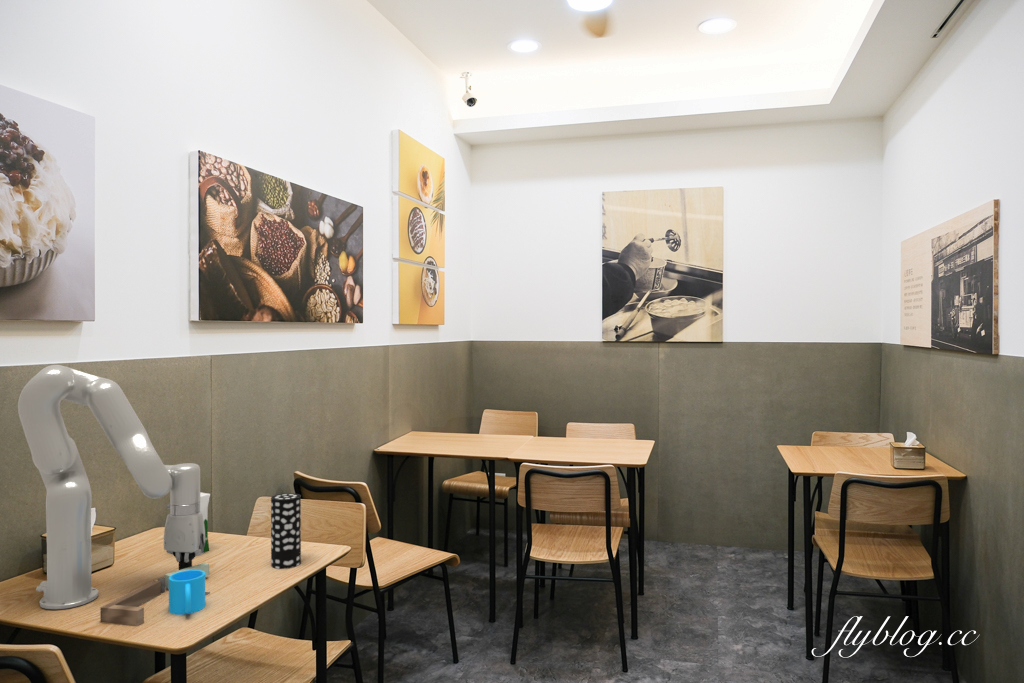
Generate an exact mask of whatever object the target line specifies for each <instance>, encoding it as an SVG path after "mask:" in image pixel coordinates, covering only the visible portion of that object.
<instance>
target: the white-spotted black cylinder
mask: <svg viewBox="0 0 1024 683" xmlns="http://www.w3.org/2000/svg"><path fill="white" fill-rule="evenodd" d="M301 497H302V495H301V494H299V493H294V492H293V493H290V492H289V493H280V494H276V495H272V496H271V497H270V521H271V522H270V539H271V540H270V550H271V551H270V555H271V556H270V557H271V558H270V562H271V564H270V566H271V567H272V569H273V568H274V569H277V570H278V569H279V570H284V569H285V570H286V569H292V568H295V567H297V566H300V564H301V561H302V559H301V558H302V557H301V556H302V552H301V551H302V548H301V547H302V545H301V544H302V543H301V542H302V541H301V540H302V536H301V535H302V527H301V526H302V519H301V517H302V515H301V514H302V511H301V509H302V507H301V506H302V502H301V501H302V500H301Z"/></svg>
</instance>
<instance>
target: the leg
mask: <svg viewBox="0 0 1024 683" xmlns="http://www.w3.org/2000/svg"><path fill="white" fill-rule="evenodd" d="M186 570H201V571H204V572H205V578H208V577H210V564H209V563H207V562H202V563H198V564H195V565H192V566H191V567H188V568H185V569H181V570H179V569H178V570H175V571H172V572H168V573H165V574H164V578H165V589H168V590H169V577H170V576H171V575H172V574H175V573H177V572H181V571H186Z"/></svg>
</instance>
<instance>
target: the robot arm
mask: <svg viewBox="0 0 1024 683" xmlns="http://www.w3.org/2000/svg"><path fill="white" fill-rule="evenodd" d="M62 401H67V402H70V403H74V404H76V405H77V404H78V405H81V406H84V407H85V406H86V407H89V409H90V411H91V413H92V415H93V416H94V418H95V419H96V421H97V423H98V424H99V426H100V427H101V429H102V430H103V432H104V435H105V436H106V438H107V440H108V441H109V443H110V444H111V446H112V447H113V449H114V451H115V452H116V453H117V454H118V455H119V457H120V458H121V460H122V461H123V464H125V465H126V467H127V469H128V471H129V473H130V474H131V476H132V478H133V479H134V480H135V482H136V484H137V485H138V487H139V489H140V491H141V492H142V494H143V495H144V496H146V497H147V498H149V499H153V500H154V499H155V500H156V499H160V498H163V497H165V496H166V495H168V494H169V499H170V500H169V501H170V502H169V503H168V504H167V505H166V509H168V510H169V513H168V514H167V516H166V520H165V524H164V529H163V530H164V532H163V533H164V534H163V549H164V550H165V551H166V553H167V554H169V555H172V556H174V558H175V560H176V562H177V563H178V570H181V569H185V568H188V567H191V566H193V560H194V559H195V557H198V556H202V555H204V554H205V552H204V549H203V547H204V546H205V526H204V519H203V515H202V513H200V493H201V467H200V465H199V464H197V463H193V462H192V463H191V462H190V463H189V462H188V463H187V462H186V463H177V464H164V463H163V460H162V458H161V456H159V454H158V452H157V451H156V449H155V447H154V445H153V444H152V441H151V439H150V436H149V434H148V432H147V430H146V428H145V427H144V425H143V424H142V421H141V420H140V418H139V417H138V415H137V413H136V411H135V410H134V407H133V406H132V405H131V403H130V401H129V400H128V397H127V396H126V395H125V393H124V391H123V389H122V388H121V386H120V385H119V384H118V383H117V382H115V381H114V380H112V379H109V378H107V377H106V378H105V377H102V376H98V375H94V374H91V373H87V372H86V371H81V370H78V369H75V368H71V367H69V366H66V365H61V364H51V365H48V366H45V367H44V368H42V369H41V370H40V371H39V372H37V374H35V375H34V376H33V377H32V378H30V380H28V381H27V383H26V384H25V385H24V387H23V388H22V390H21V392H20V395H19V398H18V402H17V411H18V416H19V417H18V418H19V421H20V423H21V427H22V429H23V433H24V436H25V439H26V442H27V445H28V448H29V450H30V454H31V459H32V463H33V464H34V466H35V467H36V468H37V470H38V471H39V474H40V476H41V479H42V482H43V485H44V487H45V490H46V498H45V517H46V518H45V520H46V527H45V528H46V580H42V581H41V582H40V584H39V585H38V586H36V589H35V591H36V592H38V593H39V592H41V593H43V597H42V598H41V599H39V606H40V608H42V609H45V610H64V609H71V608H75V607H79V606H83V605H86V604H89V603H91V602H92V601H94V600H95V599H97V598H98V597H99V590H98V589H97V588H95V587H93V586H92V498H93V497H92V496H93V495H92V489H91V484H90V481H89V478H88V474H87V472H86V470H85V469H86V468H85V466H84V464H83V461H82V458H81V455H80V452H79V450H78V447H77V444H76V442H75V440H74V439H73V438H72V437H71V436H70V435H69V433H68V430H67V427H66V425H65V422H64V418H63V415H62V412H61V409H60V408H61V407H60V406H61V402H62ZM196 550H197V551H196Z"/></svg>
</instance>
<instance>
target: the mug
mask: <svg viewBox="0 0 1024 683" xmlns="http://www.w3.org/2000/svg"><path fill="white" fill-rule="evenodd" d="M205 592H206V577H205V572H204V571H201V570H186V571H181V572H177V573H175V574H172V575H171V576H170V577H169V589H168V613H169V614H172V615H178V616H181V615H190V614H194V613H197V612H200V611H201V610H203V609H205V606H206V596H205ZM199 610H200V611H199Z"/></svg>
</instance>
